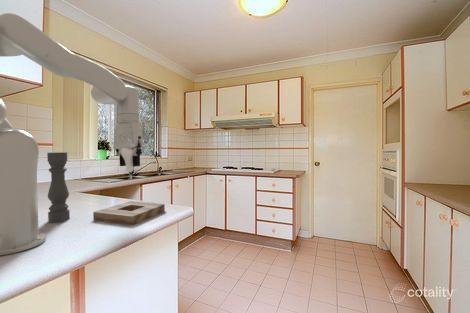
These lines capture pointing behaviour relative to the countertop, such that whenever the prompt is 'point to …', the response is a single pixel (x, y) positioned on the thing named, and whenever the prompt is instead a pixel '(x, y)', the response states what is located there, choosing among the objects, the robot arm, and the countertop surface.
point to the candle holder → (58, 188)
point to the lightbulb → (128, 158)
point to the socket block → (129, 212)
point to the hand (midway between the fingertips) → (129, 165)
